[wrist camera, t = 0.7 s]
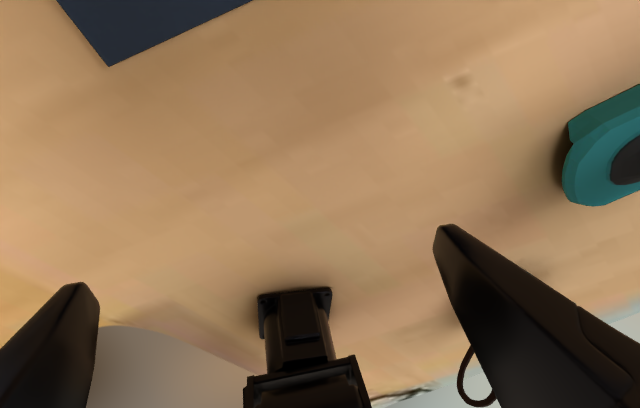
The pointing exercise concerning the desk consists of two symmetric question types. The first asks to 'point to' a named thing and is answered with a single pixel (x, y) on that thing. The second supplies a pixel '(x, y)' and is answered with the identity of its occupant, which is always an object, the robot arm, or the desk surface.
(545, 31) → the desk surface
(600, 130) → the power drill
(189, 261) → the desk surface
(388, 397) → the desk surface
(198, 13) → the felt mat
